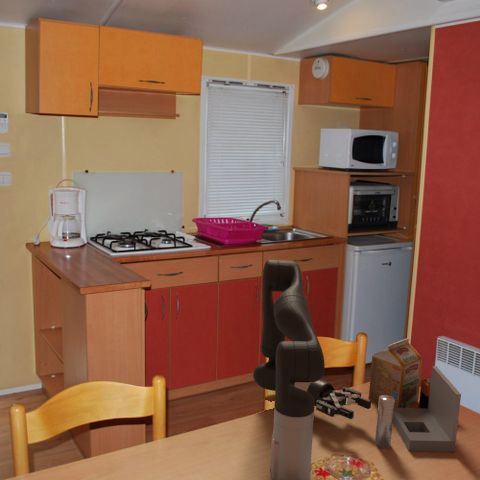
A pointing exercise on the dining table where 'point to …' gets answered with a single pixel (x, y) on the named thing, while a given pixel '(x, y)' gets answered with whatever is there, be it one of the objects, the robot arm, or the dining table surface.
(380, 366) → the milk carton
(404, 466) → the dining table surface
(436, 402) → the grey l-shaped stand
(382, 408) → the rod
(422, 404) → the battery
